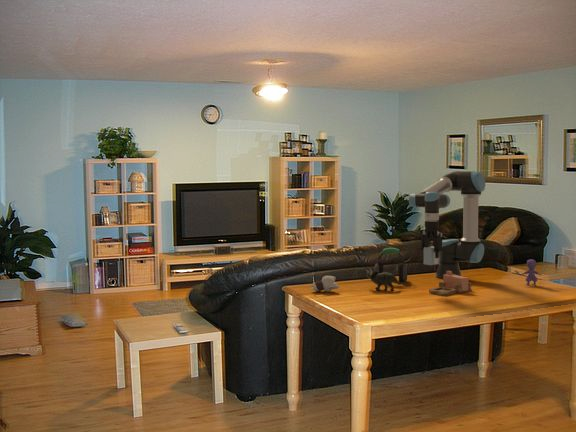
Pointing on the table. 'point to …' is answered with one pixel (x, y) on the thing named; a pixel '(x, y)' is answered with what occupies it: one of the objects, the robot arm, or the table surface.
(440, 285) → the jig
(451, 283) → the pink slab with ridge
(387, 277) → the dinosaur figurine
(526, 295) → the table surface
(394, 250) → the headphones
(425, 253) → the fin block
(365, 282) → the table surface
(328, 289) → the toy
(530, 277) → the toy
